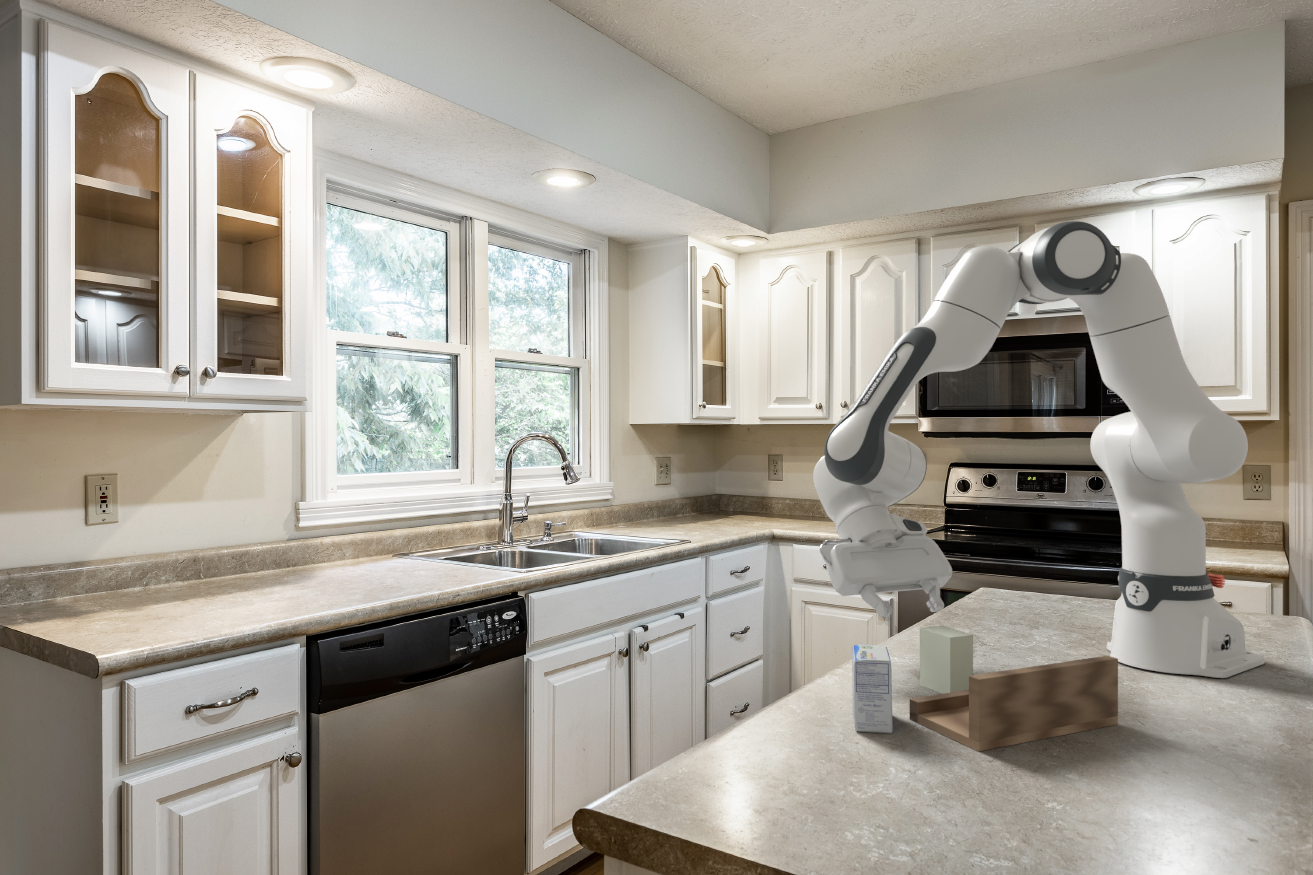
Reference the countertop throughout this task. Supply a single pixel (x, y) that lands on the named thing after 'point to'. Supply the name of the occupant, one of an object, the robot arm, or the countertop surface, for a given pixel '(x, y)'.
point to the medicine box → (872, 689)
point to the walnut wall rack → (1025, 704)
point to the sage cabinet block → (945, 659)
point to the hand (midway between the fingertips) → (913, 612)
